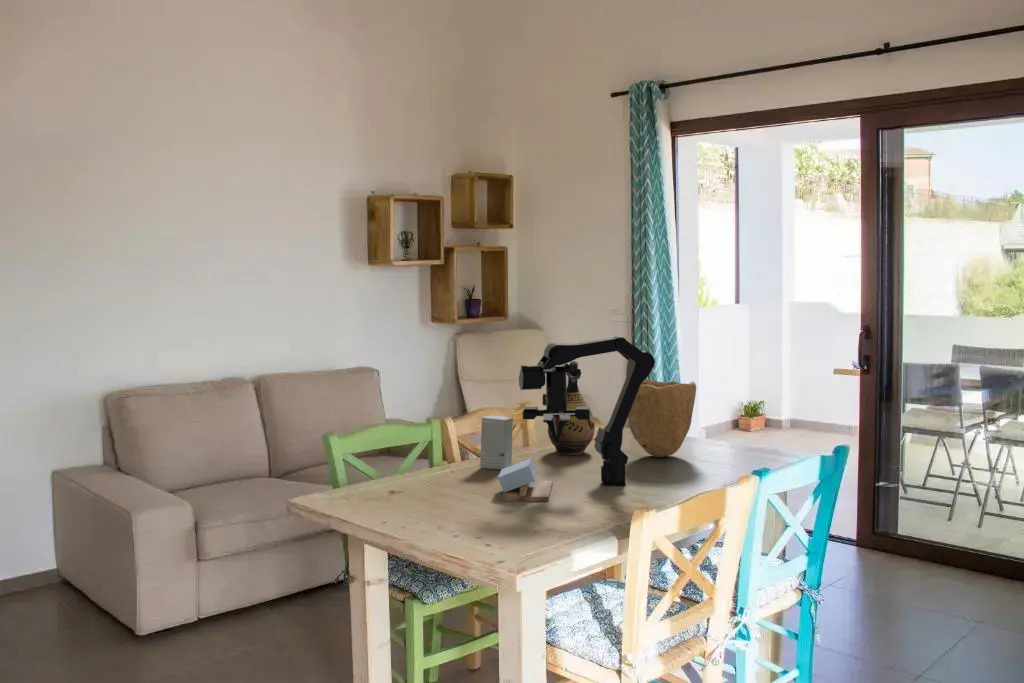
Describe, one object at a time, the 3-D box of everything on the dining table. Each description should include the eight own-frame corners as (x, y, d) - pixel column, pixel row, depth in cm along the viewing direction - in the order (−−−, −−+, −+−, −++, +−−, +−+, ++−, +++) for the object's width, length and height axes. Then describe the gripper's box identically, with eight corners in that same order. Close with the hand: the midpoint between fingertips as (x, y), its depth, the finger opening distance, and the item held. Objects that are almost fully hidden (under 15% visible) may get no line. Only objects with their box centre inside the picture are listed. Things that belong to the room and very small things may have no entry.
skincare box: (480, 468, 301) (479, 417, 300) (489, 463, 308) (488, 414, 306) (505, 470, 298) (504, 419, 296) (514, 465, 304) (513, 415, 303)
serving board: (552, 484, 279) (552, 474, 279) (548, 501, 261) (548, 490, 261) (509, 484, 280) (508, 474, 280) (502, 500, 263) (501, 489, 262)
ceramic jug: (596, 457, 315) (596, 364, 312) (548, 457, 315) (547, 365, 312) (593, 446, 332) (592, 358, 329) (547, 447, 332) (546, 359, 329)
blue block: (531, 457, 275) (501, 469, 276) (528, 465, 265) (497, 477, 266) (537, 472, 275) (507, 483, 276) (534, 481, 265) (504, 492, 266)
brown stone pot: (707, 454, 317) (707, 377, 314) (680, 467, 298) (680, 386, 296) (643, 447, 329) (643, 373, 326) (613, 460, 310) (613, 381, 308)
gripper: (590, 384, 281) (590, 437, 283) (525, 384, 283) (526, 437, 285) (589, 390, 270) (589, 445, 272) (522, 390, 272) (522, 445, 274)
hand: (556, 443), depth 276 cm, fingers closed
